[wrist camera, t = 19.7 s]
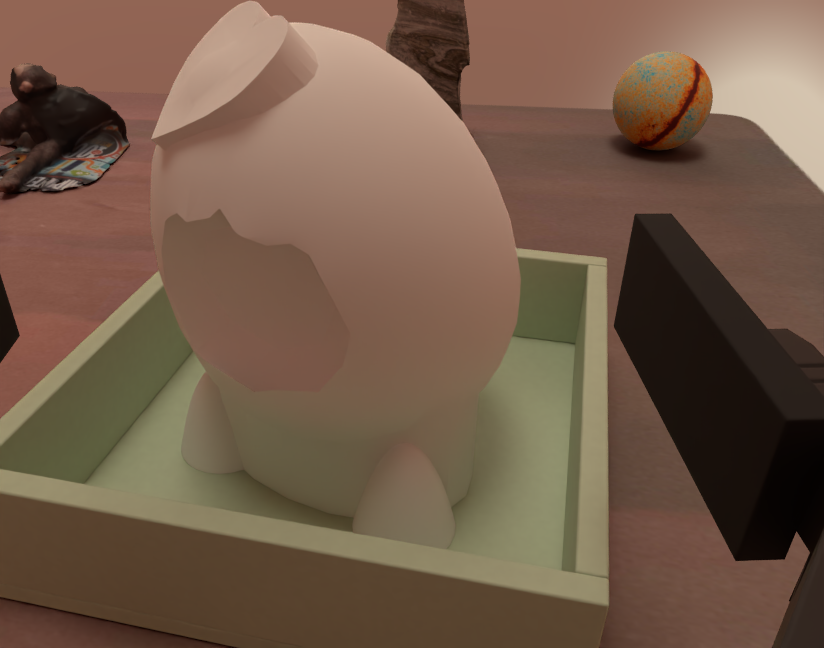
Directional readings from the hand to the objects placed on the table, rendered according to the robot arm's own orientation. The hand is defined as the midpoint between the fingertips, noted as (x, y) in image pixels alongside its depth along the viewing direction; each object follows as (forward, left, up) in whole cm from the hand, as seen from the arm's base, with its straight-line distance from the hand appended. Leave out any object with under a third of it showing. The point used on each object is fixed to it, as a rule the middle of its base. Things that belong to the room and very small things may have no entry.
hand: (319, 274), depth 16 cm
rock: (+38, +4, -12) cm, 40 cm away
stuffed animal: (+32, +32, -12) cm, 47 cm away
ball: (+45, -11, -12) cm, 48 cm away
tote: (+7, +2, -11) cm, 14 cm away
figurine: (+7, +2, -11) cm, 13 cm away
